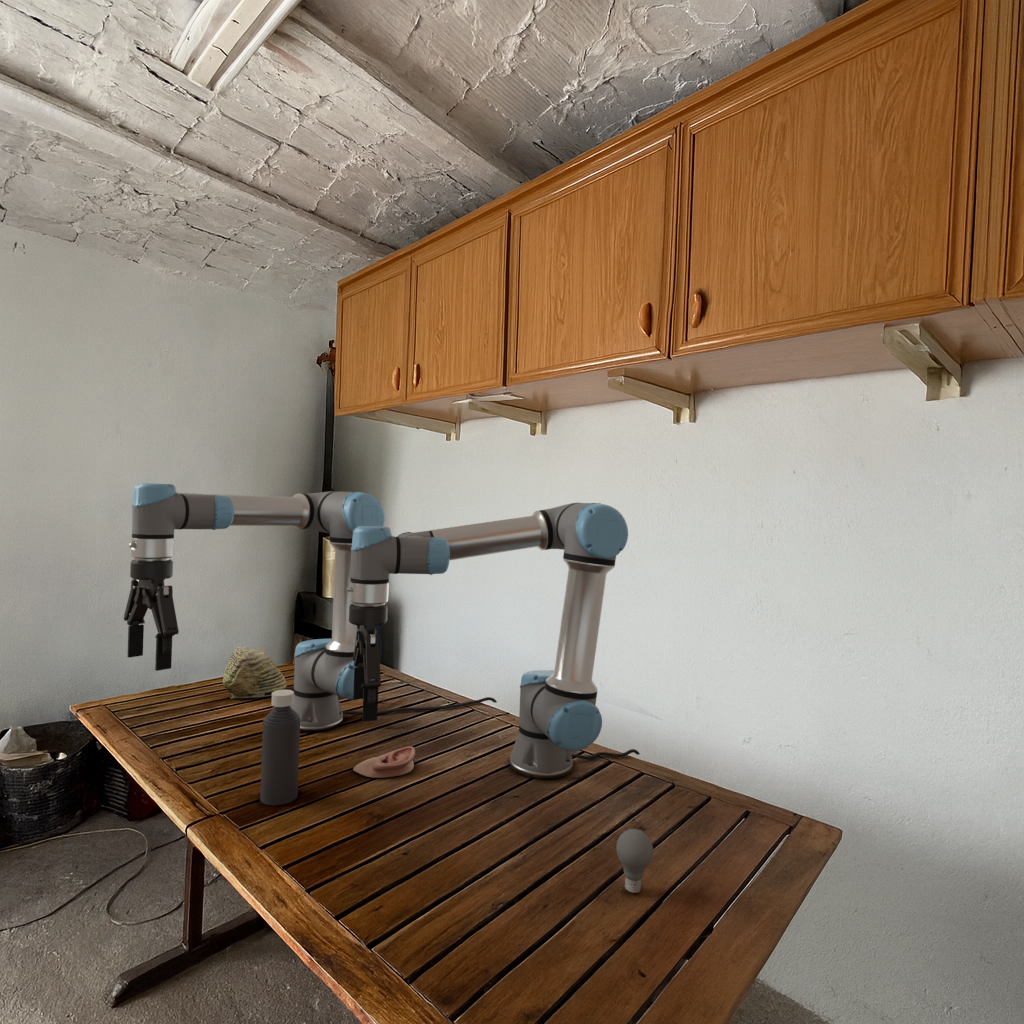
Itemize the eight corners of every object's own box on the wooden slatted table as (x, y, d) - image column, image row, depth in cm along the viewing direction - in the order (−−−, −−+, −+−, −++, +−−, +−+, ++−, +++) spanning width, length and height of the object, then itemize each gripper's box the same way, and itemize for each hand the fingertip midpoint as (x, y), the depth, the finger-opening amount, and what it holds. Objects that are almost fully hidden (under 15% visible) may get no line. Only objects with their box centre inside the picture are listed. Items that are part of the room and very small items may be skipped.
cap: (282, 708, 130) (282, 697, 130) (266, 704, 132) (267, 693, 131) (298, 702, 133) (298, 691, 133) (282, 699, 135) (283, 688, 135)
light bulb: (610, 879, 108) (613, 822, 108) (644, 879, 109) (647, 822, 109) (619, 902, 102) (622, 840, 102) (655, 901, 103) (658, 840, 103)
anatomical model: (347, 757, 144) (369, 739, 156) (347, 774, 144) (368, 755, 156) (402, 764, 142) (420, 745, 153) (402, 782, 142) (419, 762, 153)
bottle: (278, 808, 128) (282, 702, 128) (252, 799, 131) (256, 695, 131) (305, 794, 135) (308, 693, 134) (279, 786, 138) (283, 687, 137)
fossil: (218, 695, 195) (220, 647, 195) (278, 685, 208) (279, 640, 207) (228, 703, 189) (230, 653, 188) (289, 692, 201) (290, 645, 201)
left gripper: (108, 554, 134) (104, 654, 134) (159, 565, 118) (155, 678, 119) (146, 552, 140) (143, 648, 140) (199, 563, 124) (195, 671, 124)
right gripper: (342, 594, 137) (338, 691, 137) (357, 615, 113) (353, 732, 114) (377, 593, 139) (373, 689, 140) (399, 614, 116) (394, 729, 117)
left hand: (148, 662), depth 129 cm, fingers open, 13 cm apart
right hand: (364, 709), depth 127 cm, fingers open, 13 cm apart
